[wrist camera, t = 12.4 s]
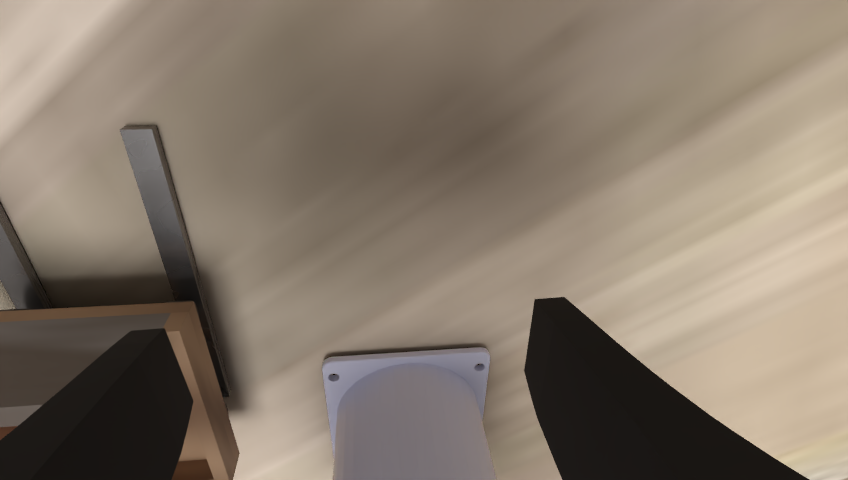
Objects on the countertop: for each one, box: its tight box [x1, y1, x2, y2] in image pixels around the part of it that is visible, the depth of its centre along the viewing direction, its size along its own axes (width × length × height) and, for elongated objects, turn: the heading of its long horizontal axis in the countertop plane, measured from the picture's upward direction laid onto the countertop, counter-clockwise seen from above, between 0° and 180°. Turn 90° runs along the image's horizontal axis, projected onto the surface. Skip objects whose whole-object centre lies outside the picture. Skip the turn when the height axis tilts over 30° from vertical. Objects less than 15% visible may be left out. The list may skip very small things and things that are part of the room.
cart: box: [0, 300, 239, 480], centre depth 18 cm, size 9×8×6 cm
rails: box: [0, 126, 231, 397], centre depth 19 cm, size 13×7×1 cm, turn 179°
